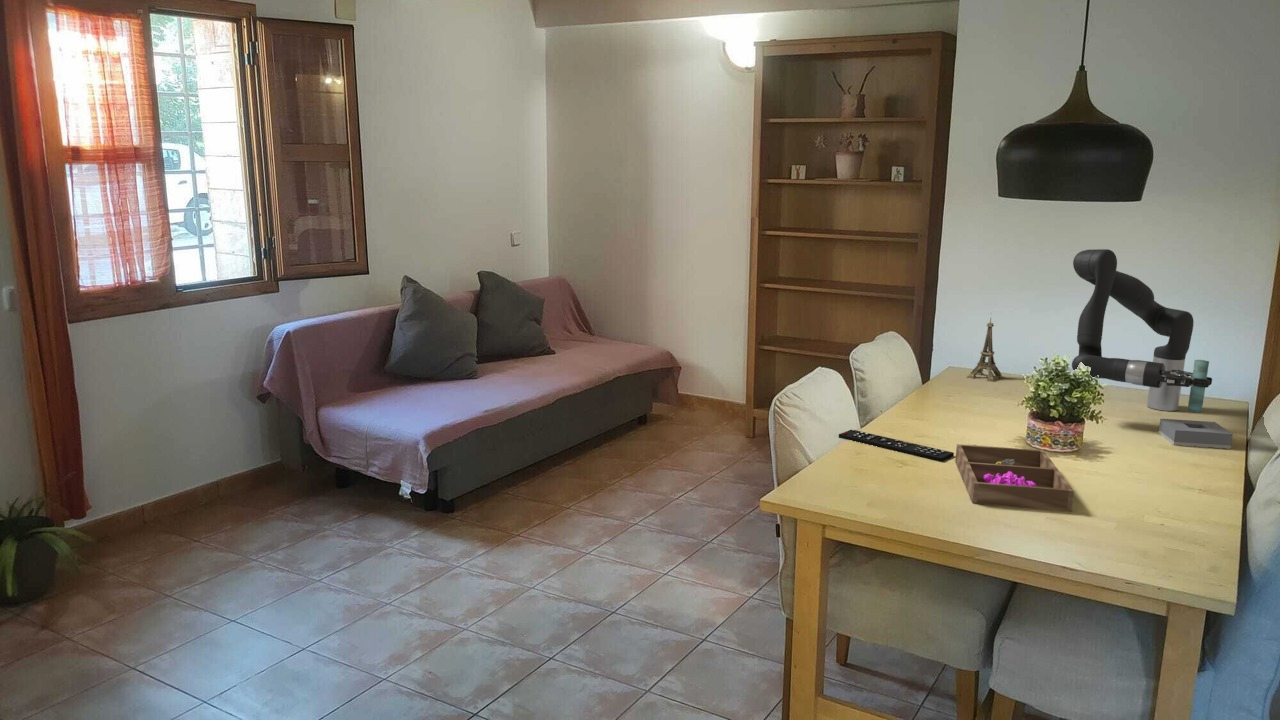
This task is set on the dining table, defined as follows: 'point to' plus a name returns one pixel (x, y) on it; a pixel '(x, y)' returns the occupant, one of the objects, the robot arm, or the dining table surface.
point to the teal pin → (1195, 391)
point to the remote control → (897, 445)
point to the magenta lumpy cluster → (1009, 480)
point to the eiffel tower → (990, 364)
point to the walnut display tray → (1028, 464)
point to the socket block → (1195, 433)
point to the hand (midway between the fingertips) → (1210, 382)
